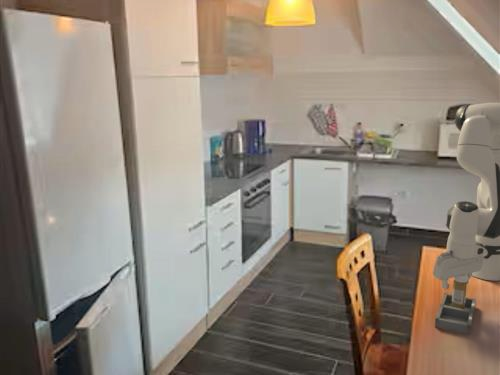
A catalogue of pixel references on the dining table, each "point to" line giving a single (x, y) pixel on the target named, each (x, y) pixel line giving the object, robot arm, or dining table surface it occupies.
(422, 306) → the dining table surface
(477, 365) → the dining table surface
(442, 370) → the dining table surface
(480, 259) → the robot arm
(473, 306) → the grey divided tray
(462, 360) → the dining table surface
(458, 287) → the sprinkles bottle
